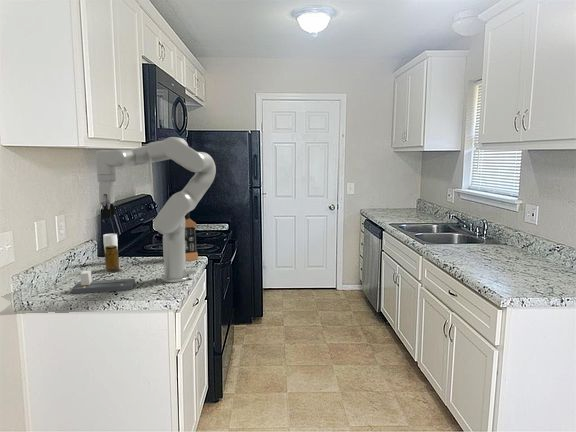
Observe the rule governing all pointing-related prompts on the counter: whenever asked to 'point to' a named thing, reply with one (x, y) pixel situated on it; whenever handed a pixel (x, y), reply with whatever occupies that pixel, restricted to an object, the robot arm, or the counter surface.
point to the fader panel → (104, 286)
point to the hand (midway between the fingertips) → (109, 216)
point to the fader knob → (86, 278)
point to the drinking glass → (110, 240)
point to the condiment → (112, 259)
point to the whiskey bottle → (190, 239)
